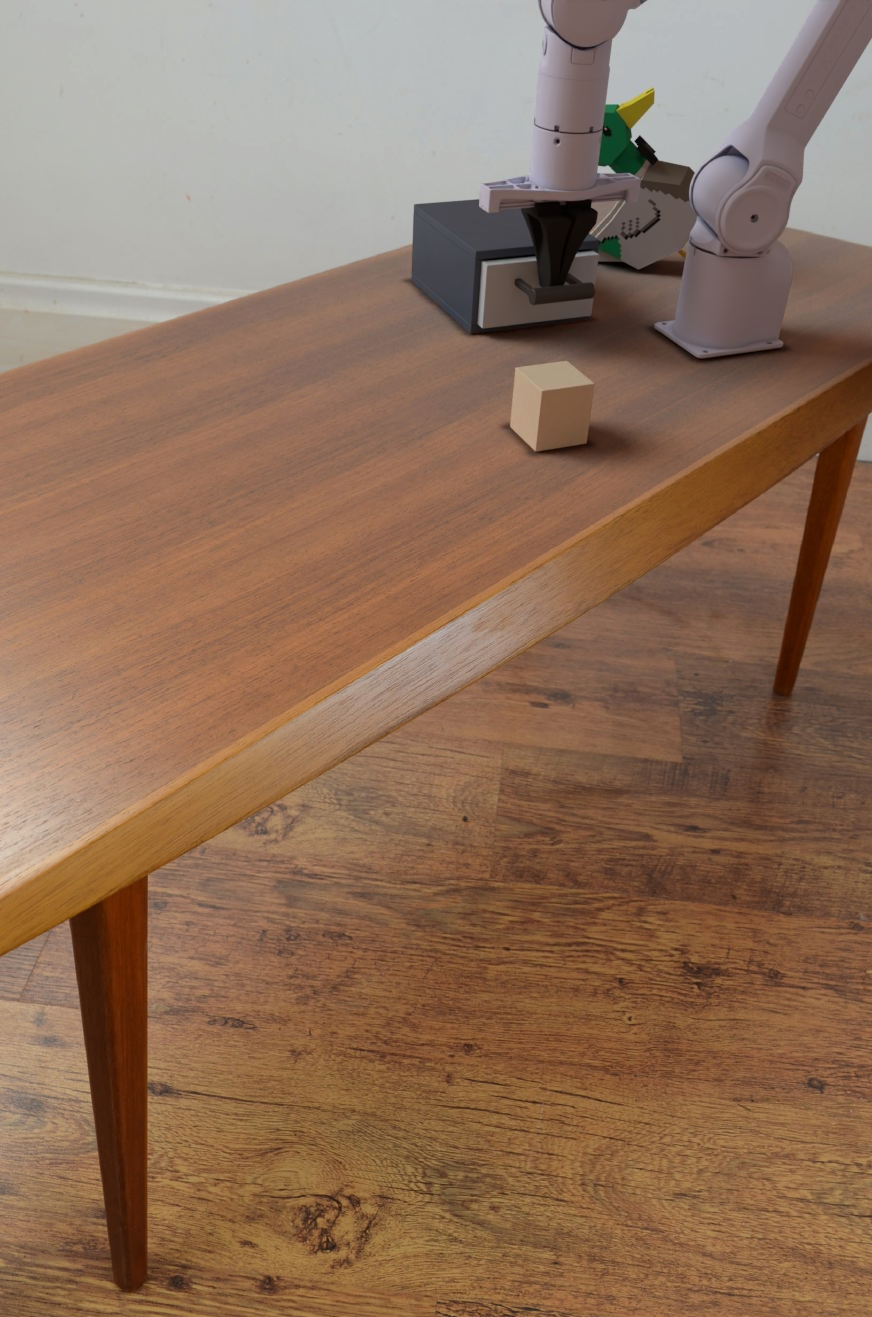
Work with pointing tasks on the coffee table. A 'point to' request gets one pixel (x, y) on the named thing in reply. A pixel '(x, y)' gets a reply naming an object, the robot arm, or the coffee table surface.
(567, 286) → the drawer
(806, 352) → the coffee table surface
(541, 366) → the block
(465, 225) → the cabinet
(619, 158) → the toy
